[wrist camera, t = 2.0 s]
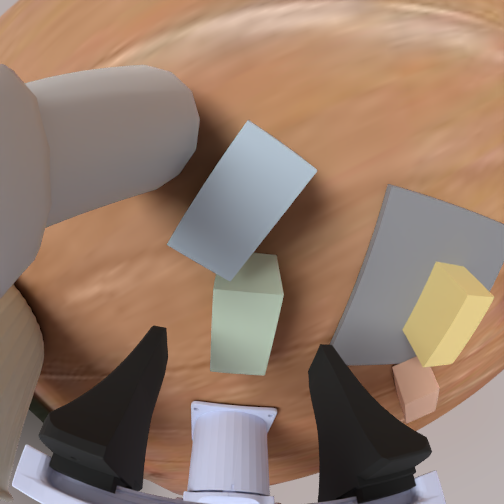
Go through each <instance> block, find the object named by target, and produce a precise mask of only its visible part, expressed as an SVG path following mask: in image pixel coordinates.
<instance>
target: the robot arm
mask: <svg viewBox="0 0 504 504" xmlns="http://www.w3.org/2000/svg"><path fill="white" fill-rule="evenodd" d="M167 360H168V348H167V332H166V328H164V327H158V326H152V327H151V328H150V330H149V331H148V333H147V334H146V335H145V336H144V338H143V339H142V340H141V341H140V343H139V344H138V345H137V346H136V347H135V349H134V350H133V351H132V352H131V353H130V354H129V355H128V357H127V358H126V359H125V360H124V361H123V362H122V363H121V364H120V365H119V366H118V367H117V368H116V369H115V370H114V371H113V372H112V373H110V374H109V375H108V376H107V377H106V378H105V379H104V380H102V381H101V382H100V383H99V384H97V385H96V386H95V387H93V388H92V389H91V390H89V391H88V392H86V393H85V394H83V395H82V396H80V397H78V398H77V399H75V400H73V401H72V402H70V403H68V404H66V405H64V406H62V407H60V408H58V409H56V410H54V411H52V412H50V413H49V414H48V416H47V418H46V419H45V421H44V423H43V426H42V428H41V431H40V433H39V438H40V440H41V441H42V442H43V443H44V444H45V445H46V446H47V447H48V448H49V449H50V450H51V451H52V452H53V456H52V458H51V457H50V456H48V455H47V454H45V453H43V452H41V451H39V450H37V449H35V448H33V447H31V446H30V445H25V448H24V450H23V453H22V456H21V458H20V461H19V464H18V467H17V470H16V473H15V476H14V479H13V482H12V486H13V487H15V488H17V489H18V490H20V491H21V492H23V493H25V494H26V495H28V496H30V497H31V498H33V499H35V500H37V501H38V502H40V503H42V504H281V503H274V496H270V491H269V468H268V447H267V433H268V431H269V429H270V427H271V425H272V423H273V421H274V419H275V417H276V414H277V409H276V408H267V407H250V406H237V405H226V404H217V403H209V402H201V401H193V402H192V403H191V423H192V441H193V445H192V454H191V462H190V471H189V481H188V490H187V491H184V495H183V498H179V497H177V498H176V499H172V498H166V497H161V496H156V495H151V494H147V493H143V492H139V491H140V490H141V489H142V485H143V472H144V462H145V454H146V446H147V440H148V433H149V428H150V422H151V418H152V414H153V410H154V407H155V404H156V401H157V397H158V394H159V391H160V388H161V385H162V382H163V378H164V375H165V370H166V365H167ZM308 374H309V389H310V394H311V399H312V404H313V409H314V414H315V419H316V424H317V430H318V439H319V460H320V475H319V477H320V478H319V495H318V503H310V504H446V501H445V498H444V494H443V491H442V487H441V484H440V481H439V477H438V475H437V471H436V470H434V471H432V472H429V473H426V474H423V475H421V476H418V477H416V478H414V476H413V474H414V473H416V470H415V466H416V465H418V464H419V463H421V462H422V461H424V460H425V459H426V458H428V457H429V456H430V454H431V452H432V451H431V448H430V445H429V442H428V440H427V438H426V437H425V436H423V435H421V434H420V433H418V432H416V431H414V430H412V429H411V428H409V427H408V426H406V425H405V424H403V423H402V422H400V421H399V420H398V419H396V418H395V417H394V416H393V415H391V414H390V413H389V412H388V411H387V410H385V409H384V408H383V407H382V406H381V405H380V404H379V403H378V402H377V401H376V400H375V399H374V398H373V397H372V396H371V395H370V394H369V393H368V392H367V390H366V389H365V388H364V387H363V386H362V385H361V383H360V382H359V381H358V380H357V378H356V377H355V376H354V375H353V373H352V372H351V371H350V369H349V368H348V366H347V365H346V364H345V362H344V361H343V359H342V358H341V357H340V355H339V354H338V352H337V351H336V350H335V348H334V347H333V345H322V344H320V347H319V349H318V351H317V353H316V355H315V358H314V360H313V362H312V364H311V366H310V368H309V371H308Z"/></svg>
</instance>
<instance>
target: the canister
mask: <svg viewBox="0 0 504 504" xmlns="http://www.w3.org/2000/svg"><path fill="white" fill-rule="evenodd" d="M43 361H44V342H43V336H42V333H41V331H40V326H39V324H38V323H37V321H36V317H35V316H34V314H33V313H32V310H31V308H30V307H29V306H28V304H27V302H26V300H25V299H24V298H23V296H22V295H21V293H20V291H19V290H18V289H17V288H16V287H15V285H14V283H13V285H12V286H11V287H10V288H9V289H8V290H7V292H6V293H5V294H4V295H3V296H2V298H1V299H0V500H4V501H7V502H10V503H12V502H13V497H12V495H11V494H10V493H9V492H8V486H9V481H10V476H11V472H12V467H13V463H14V459H15V454H16V450H17V446H18V442H19V438H20V435H21V431H22V428H23V425H24V421H25V418H26V415H27V412H28V409H29V406H30V402H31V399H32V396H33V393H34V390H35V387H36V384H37V382H38V379H39V376H40V373H41V369H42V365H43Z"/></svg>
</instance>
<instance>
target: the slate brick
mask: <svg viewBox="0 0 504 504" xmlns="http://www.w3.org/2000/svg"><path fill="white" fill-rule="evenodd" d="M317 171H318V170H316V169H315V168H314V167H313V166H312V165H310V164H309V163H308V162H307V161H306V160H304V159H303V158H302V157H301V156H299V155H298V154H297V153H295V152H294V151H292V150H291V149H290V148H288V147H287V146H286V145H284V144H283V143H281V142H280V141H279V140H277V139H276V138H274V137H273V136H272V135H270V134H269V133H267V132H266V131H264V130H263V129H261V128H260V127H258V126H257V125H255V124H254V123H252V122H251V121H249V120H248V121H247V122H246V124H245V125H244V126H243V128H242V129H241V130H240V132H239V133H238V135H237V136H236V137H235V139H234V140H233V142H232V143H231V145H230V146H229V147H228V149H227V150H226V152H225V153H224V155H223V156H222V158H221V159H220V160H219V162H218V163H217V165H216V166H215V168H214V169H213V171H212V172H211V174H210V175H209V177H208V178H207V180H206V181H205V183H204V185H203V186H202V188H201V189H200V191H199V192H198V194H197V195H196V197H195V199H194V200H193V202H192V203H191V205H190V207H189V208H188V210H187V211H186V213H185V215H184V216H183V218H182V220H181V221H180V223H179V225H178V226H177V228H176V230H175V231H174V233H173V235H172V237H171V238H170V240H169V242H168V244H167V245H168V246H170V247H172V248H173V249H175V250H177V251H178V252H180V253H182V254H183V255H185V256H187V257H188V258H190V259H192V260H193V261H195V262H197V263H199V264H200V265H202V266H204V267H205V268H207V269H209V270H211V271H212V272H214V273H216V274H217V275H219V276H221V277H223V278H224V279H226V280H228V281H231V280H232V279H233V278H234V276H235V275H236V274H237V273H238V271H239V270H240V269H241V267H242V266H243V265H244V264H245V262H246V261H247V260H248V259H249V257H250V256H251V255H252V253H253V252H254V251H255V250H256V248H257V247H258V246H259V245H260V243H261V242H262V241H263V239H264V238H265V237H266V236H267V234H268V233H269V232H270V231H271V229H272V228H273V227H274V225H275V224H276V223H277V222H278V220H279V219H280V218H281V217H282V215H283V214H284V213H285V211H286V210H287V209H288V208H289V206H290V205H291V204H292V203H293V201H294V200H295V199H296V197H297V196H298V195H299V194H300V192H301V191H302V190H303V189H304V187H305V186H306V185H307V183H308V182H309V181H310V180H311V178H312V177H313V176H314V175H315V173H316V172H317Z"/></svg>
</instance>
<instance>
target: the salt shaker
mask: <svg viewBox="0 0 504 504" xmlns="http://www.w3.org/2000/svg"><path fill="white" fill-rule="evenodd" d="M199 123H200V118H199V114H198V111H197V107H196V104H195V100H194V97H193V93H192V91H191V90H190V89H189V88H188V87H187V86H186V85H185V84H184V83H183V82H181V81H180V80H179V79H178V78H177V77H176V76H175V75H174V74H173V73H172V72H169V71H166V70H162V69H158V68H155V67H151V66H147V65H134V66H121V67H110V68H101V69H93V70H86V71H80V72H74V73H68V74H63V75H58V76H53V77H49V78H44V79H40V80H36V81H32V82H29V83H25V84H24V82H23V81H22V80H21V79H20V78H19V77H18V75H17V74H16V73H15V72H14V71H13V70H12V69H10V68H9V67H7V66H6V65H4V64H0V299H1V298H2V296H3V295H4V294H5V293H6V292H7V290H8V289H9V288H10V287H11V286H12V285H13V283H14V282H15V281H16V280H17V279H18V278H19V276H20V275H21V274H22V273H23V272H24V271H25V270H26V269H27V267H28V266H29V265H30V264H31V263H32V262H33V261H34V260H35V257H36V255H37V253H38V251H39V248H40V246H41V242H42V238H43V234H44V230H45V228H46V227H49V226H51V225H54V224H56V223H59V222H61V221H64V220H67V219H69V218H72V217H75V216H77V215H80V214H83V213H85V212H88V211H91V210H94V209H97V208H100V207H103V206H106V205H109V204H111V203H115V202H118V201H121V200H124V199H127V198H130V197H133V196H136V195H140V194H143V193H146V192H150V191H153V190H156V189H158V188H159V187H161V186H162V185H164V184H165V183H167V182H168V181H170V180H171V179H173V178H174V177H176V176H177V175H179V174H180V172H181V171H182V169H183V168H184V166H185V165H186V163H187V162H188V161H189V159H190V158H191V156H192V155H193V153H194V152H195V150H196V146H197V138H198V130H199Z"/></svg>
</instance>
